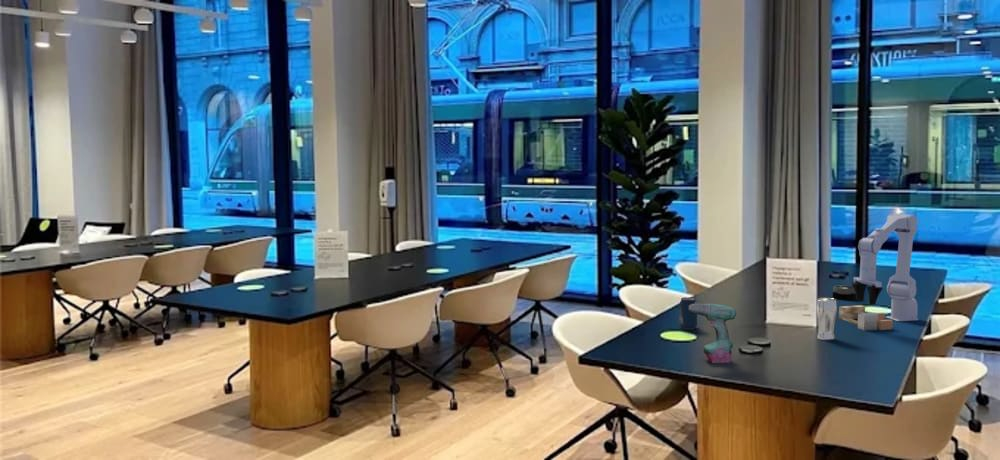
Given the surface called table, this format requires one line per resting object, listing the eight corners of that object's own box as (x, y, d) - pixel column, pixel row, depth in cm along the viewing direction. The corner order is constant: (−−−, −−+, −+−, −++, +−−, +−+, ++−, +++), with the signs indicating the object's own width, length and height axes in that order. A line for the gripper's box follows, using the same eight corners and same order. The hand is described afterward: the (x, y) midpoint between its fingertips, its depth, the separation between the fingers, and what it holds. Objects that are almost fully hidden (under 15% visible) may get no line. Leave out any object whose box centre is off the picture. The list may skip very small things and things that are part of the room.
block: (871, 327, 318) (871, 312, 317) (877, 329, 314) (878, 314, 314) (857, 328, 317) (858, 313, 316) (864, 330, 313) (864, 315, 312)
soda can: (700, 327, 323) (700, 298, 322) (691, 330, 318) (691, 300, 317) (685, 325, 328) (685, 296, 327) (676, 328, 323) (676, 298, 322)
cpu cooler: (854, 289, 370) (831, 287, 376) (853, 301, 371) (830, 299, 376) (858, 285, 379) (835, 284, 384) (857, 297, 380) (835, 295, 385)
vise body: (861, 316, 337) (861, 305, 337) (885, 324, 322) (885, 312, 322) (838, 318, 335) (839, 306, 335) (862, 326, 320) (862, 314, 320)
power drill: (685, 358, 277) (685, 302, 275) (731, 356, 278) (731, 300, 276) (692, 364, 269) (692, 306, 267) (739, 362, 271) (739, 304, 269)
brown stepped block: (882, 324, 322) (882, 312, 321) (895, 328, 314) (895, 316, 314) (865, 325, 320) (865, 313, 320) (878, 330, 313) (878, 317, 312)
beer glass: (835, 336, 304) (836, 298, 302) (836, 341, 297) (837, 301, 296) (815, 335, 306) (816, 297, 305) (816, 339, 300) (817, 300, 298)
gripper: (847, 266, 320) (845, 299, 321) (870, 270, 306) (868, 306, 307) (863, 266, 321) (861, 299, 322) (887, 270, 307) (885, 305, 308)
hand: (866, 302), depth 315 cm, fingers open, 7 cm apart
